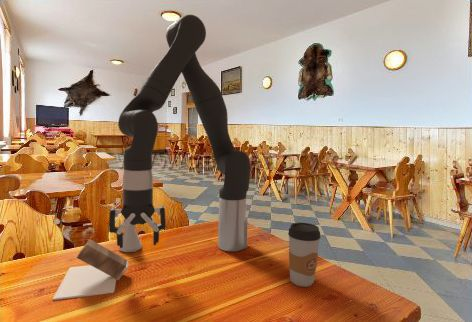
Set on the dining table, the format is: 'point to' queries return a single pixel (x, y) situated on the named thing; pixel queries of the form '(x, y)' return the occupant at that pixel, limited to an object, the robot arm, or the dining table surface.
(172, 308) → the dining table surface
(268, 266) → the dining table surface
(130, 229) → the flask
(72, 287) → the mat
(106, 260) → the grey metallic bar
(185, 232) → the dining table surface
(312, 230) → the coffee cup
